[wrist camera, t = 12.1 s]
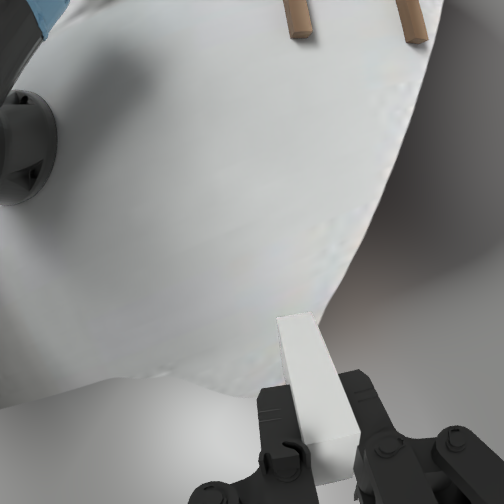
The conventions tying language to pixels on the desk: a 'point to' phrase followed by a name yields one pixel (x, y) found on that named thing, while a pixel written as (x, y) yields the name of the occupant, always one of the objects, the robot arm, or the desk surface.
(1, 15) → the robot arm
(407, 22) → the channel
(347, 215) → the desk surface
